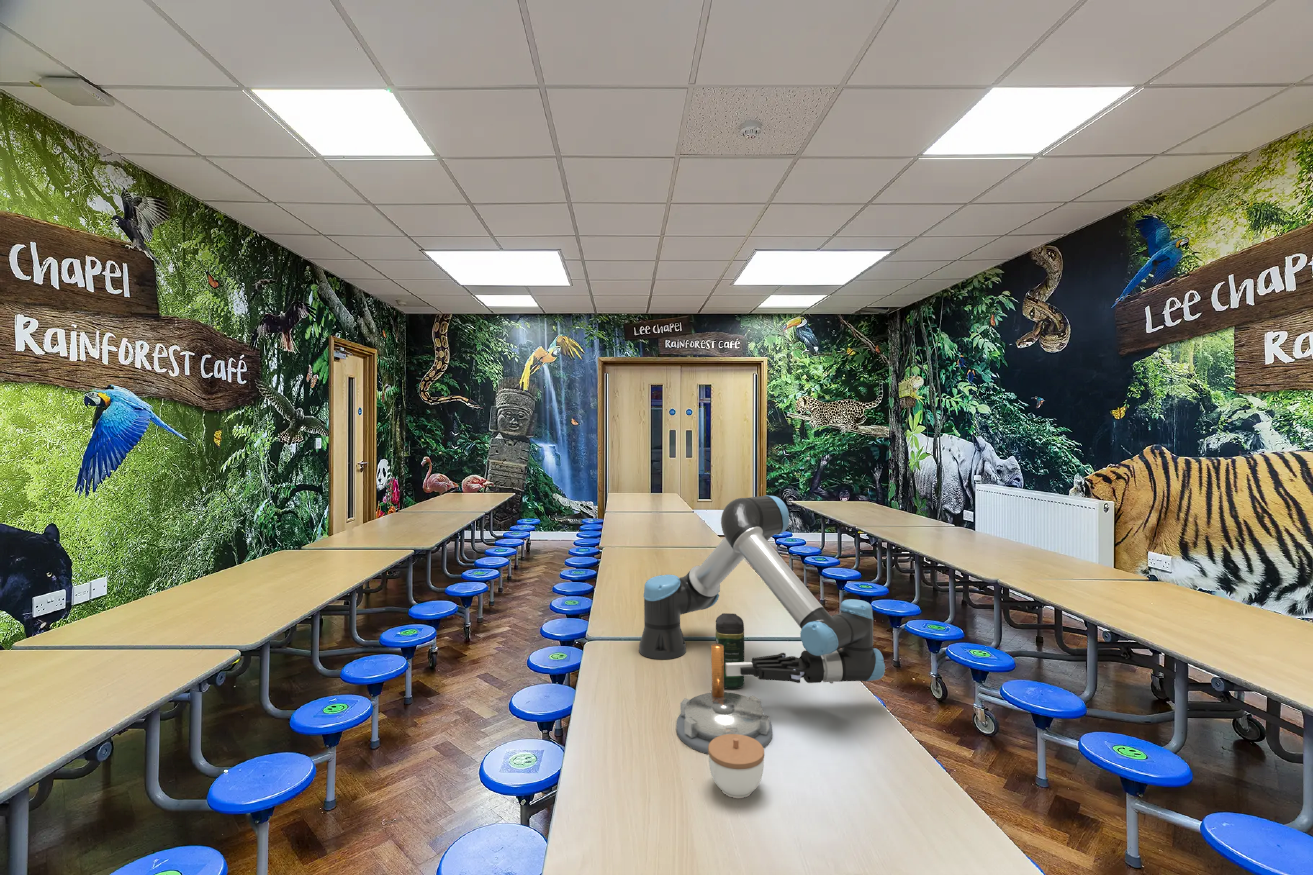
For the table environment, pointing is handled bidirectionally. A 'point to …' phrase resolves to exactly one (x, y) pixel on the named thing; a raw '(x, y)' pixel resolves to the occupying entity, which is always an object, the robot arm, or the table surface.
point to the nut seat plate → (703, 744)
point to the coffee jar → (731, 645)
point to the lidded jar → (736, 764)
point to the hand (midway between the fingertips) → (726, 669)
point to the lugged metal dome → (722, 708)
